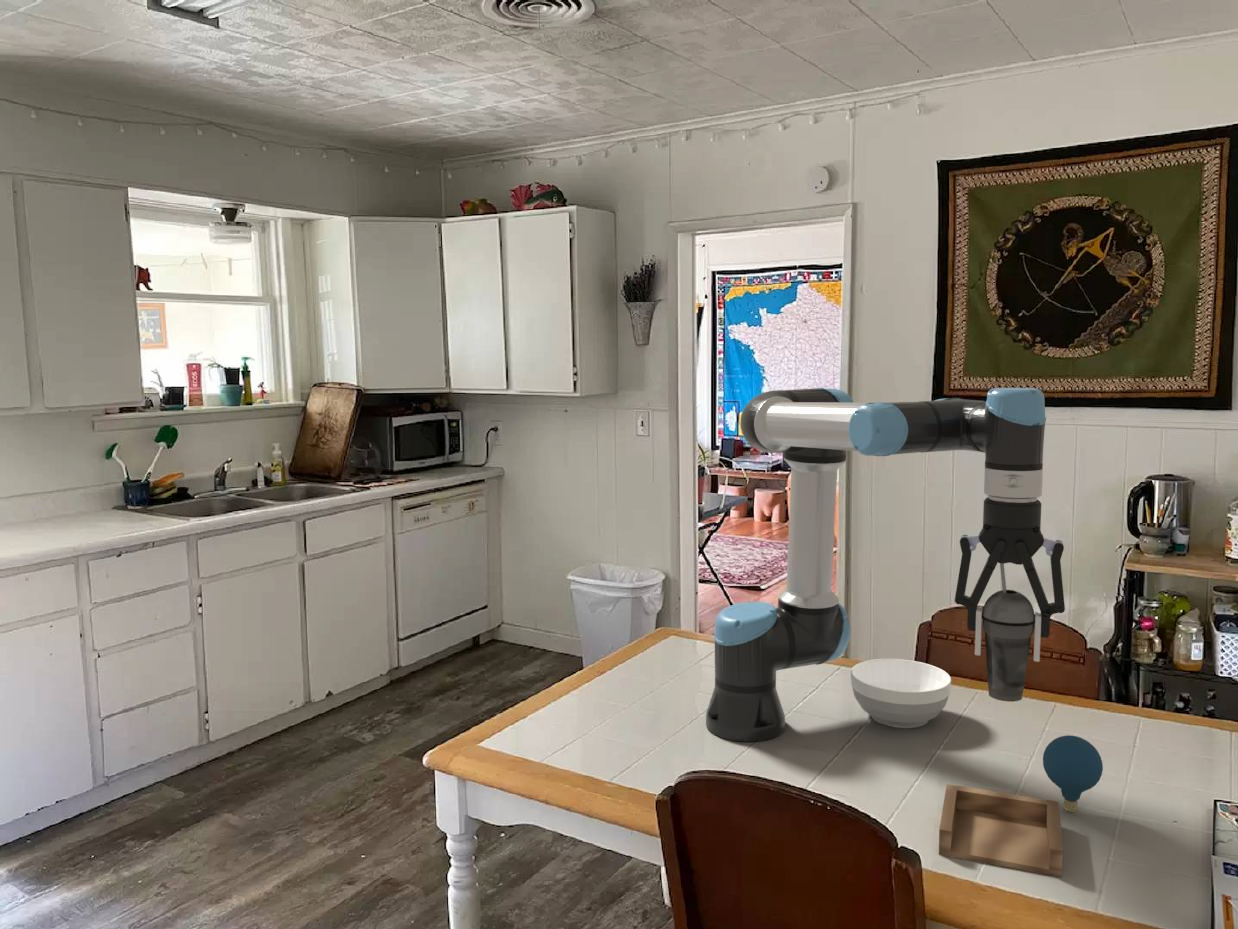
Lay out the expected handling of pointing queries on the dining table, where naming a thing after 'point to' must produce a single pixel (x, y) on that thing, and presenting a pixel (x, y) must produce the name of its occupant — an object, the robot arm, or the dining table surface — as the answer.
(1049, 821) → the u rest
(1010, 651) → the beverage cup
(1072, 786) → the light bulb
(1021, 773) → the dining table surface
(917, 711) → the bowl
